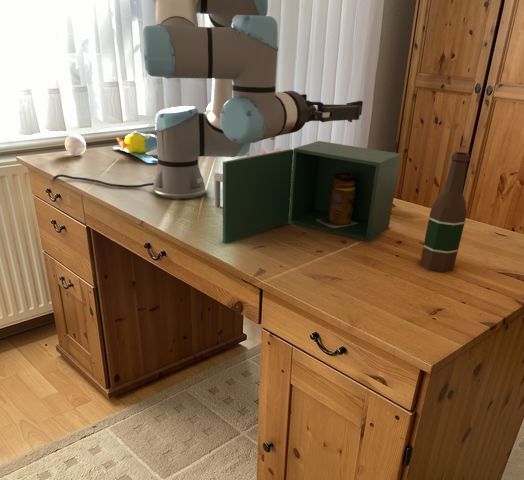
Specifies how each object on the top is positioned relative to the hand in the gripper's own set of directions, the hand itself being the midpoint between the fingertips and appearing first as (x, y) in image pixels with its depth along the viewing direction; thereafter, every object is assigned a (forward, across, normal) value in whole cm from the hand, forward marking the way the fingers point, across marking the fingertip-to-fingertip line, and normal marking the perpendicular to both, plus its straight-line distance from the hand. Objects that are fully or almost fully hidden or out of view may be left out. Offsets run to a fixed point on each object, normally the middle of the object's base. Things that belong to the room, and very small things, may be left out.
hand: (332, 104), depth 119 cm
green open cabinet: (+10, 0, -30) cm, 32 cm away
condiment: (+10, 0, -29) cm, 31 cm away
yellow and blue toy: (+35, -94, -30) cm, 104 cm away
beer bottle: (-1, +30, -30) cm, 42 cm away
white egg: (+19, -109, -30) cm, 115 cm away
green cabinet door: (-7, -16, -30) cm, 34 cm away
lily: (+38, -40, -30) cm, 63 cm away
